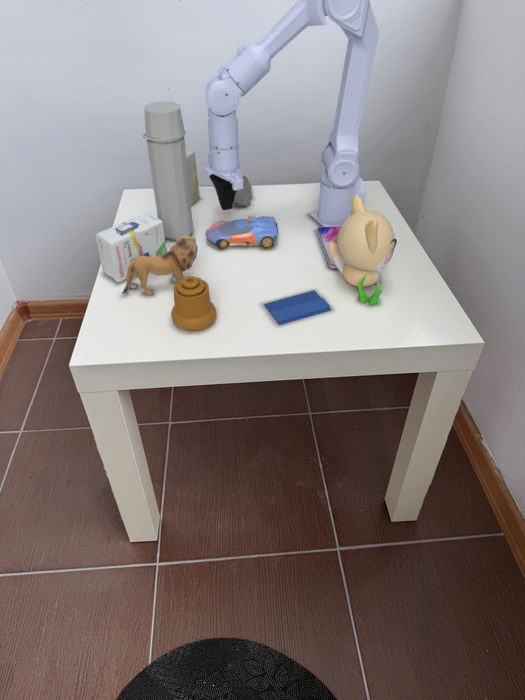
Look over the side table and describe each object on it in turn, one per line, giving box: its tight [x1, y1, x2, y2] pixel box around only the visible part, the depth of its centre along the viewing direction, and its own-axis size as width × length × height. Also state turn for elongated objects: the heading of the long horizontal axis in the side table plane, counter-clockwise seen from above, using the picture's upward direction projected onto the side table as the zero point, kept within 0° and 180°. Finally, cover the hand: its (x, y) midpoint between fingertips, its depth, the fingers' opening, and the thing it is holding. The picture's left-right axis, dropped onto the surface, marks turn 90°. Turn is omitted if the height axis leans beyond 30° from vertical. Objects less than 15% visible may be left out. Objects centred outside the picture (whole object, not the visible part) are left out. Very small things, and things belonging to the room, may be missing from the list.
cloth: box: [264, 289, 332, 326], centre depth 88 cm, size 10×6×1 cm, turn 115°
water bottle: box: [142, 100, 194, 241], centre depth 99 cm, size 9×8×25 cm
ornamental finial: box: [170, 275, 217, 332], centre depth 83 cm, size 8×8×8 cm
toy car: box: [204, 215, 280, 250], centre depth 103 cm, size 8×15×5 cm, turn 95°
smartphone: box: [316, 226, 347, 269], centre depth 103 cm, size 7×1×15 cm
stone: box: [233, 175, 253, 208], centre depth 119 cm, size 13×2×5 cm
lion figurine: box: [121, 235, 199, 296], centre depth 90 cm, size 15×5×9 cm, turn 116°
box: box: [186, 149, 200, 206], centre depth 115 cm, size 5×4×11 cm
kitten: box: [328, 195, 398, 306], centre depth 89 cm, size 15×10×15 cm
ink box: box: [95, 212, 168, 283], centre depth 95 cm, size 9×5×12 cm
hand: (226, 208), depth 109 cm, fingers closed
